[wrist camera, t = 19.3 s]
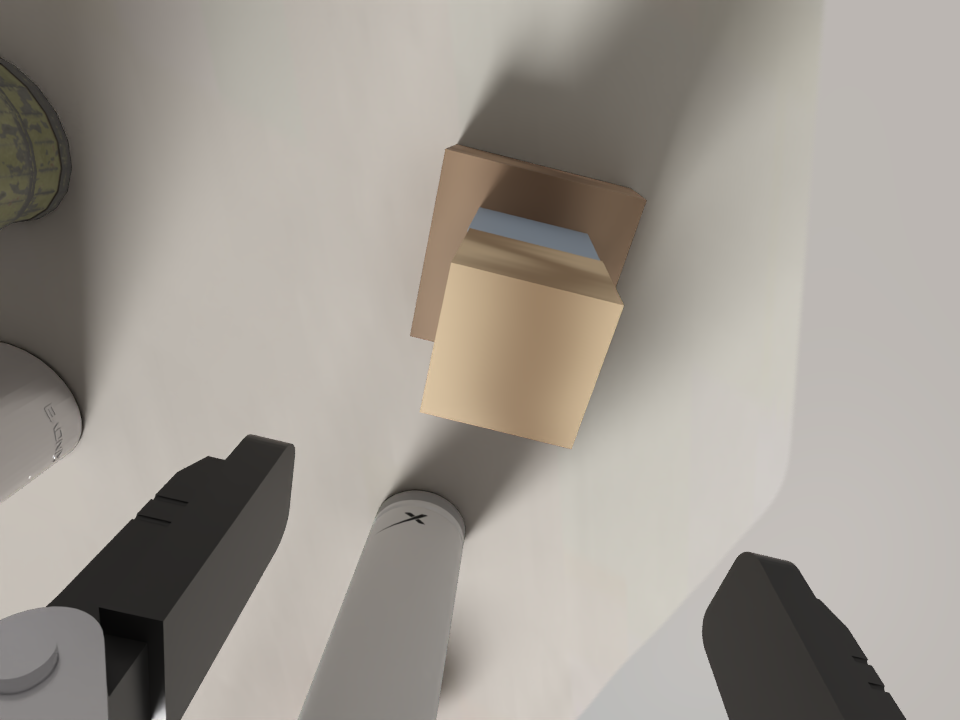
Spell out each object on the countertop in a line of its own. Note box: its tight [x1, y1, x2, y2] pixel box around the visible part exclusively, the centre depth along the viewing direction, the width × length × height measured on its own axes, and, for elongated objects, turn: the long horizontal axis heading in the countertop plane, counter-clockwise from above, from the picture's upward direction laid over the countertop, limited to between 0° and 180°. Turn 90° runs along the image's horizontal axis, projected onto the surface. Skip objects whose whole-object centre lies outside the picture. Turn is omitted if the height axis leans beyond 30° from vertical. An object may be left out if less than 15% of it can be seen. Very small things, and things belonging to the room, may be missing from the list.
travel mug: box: [298, 490, 465, 720], centre depth 28 cm, size 6×7×20 cm
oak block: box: [420, 228, 624, 449], centre depth 18 cm, size 5×5×5 cm
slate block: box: [467, 207, 600, 260], centre depth 23 cm, size 5×5×5 cm
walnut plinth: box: [410, 144, 647, 342], centre depth 27 cm, size 9×9×4 cm
